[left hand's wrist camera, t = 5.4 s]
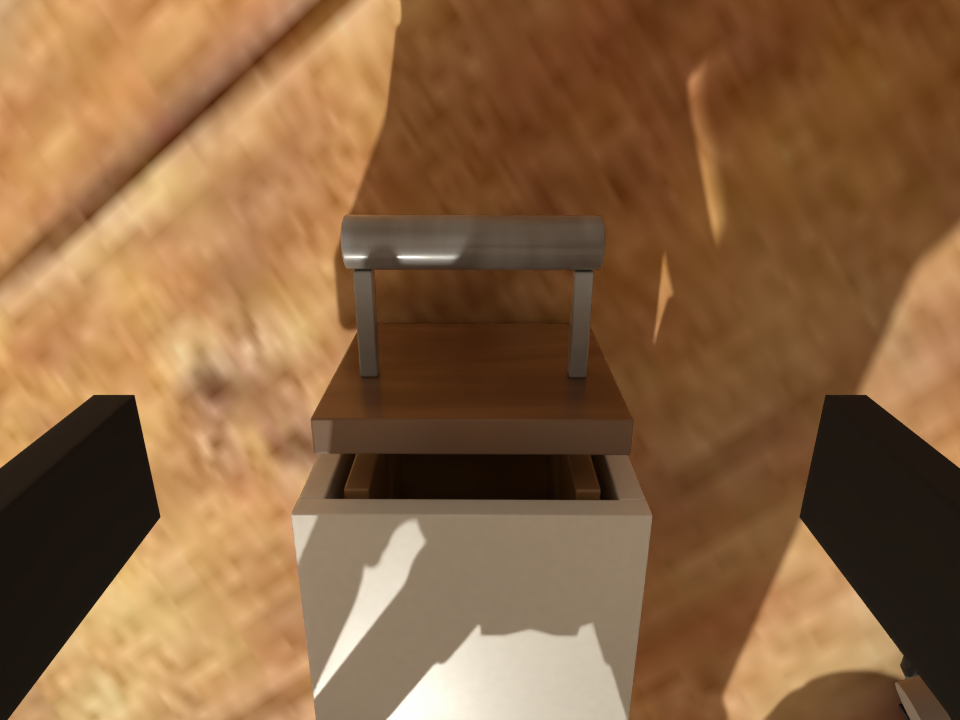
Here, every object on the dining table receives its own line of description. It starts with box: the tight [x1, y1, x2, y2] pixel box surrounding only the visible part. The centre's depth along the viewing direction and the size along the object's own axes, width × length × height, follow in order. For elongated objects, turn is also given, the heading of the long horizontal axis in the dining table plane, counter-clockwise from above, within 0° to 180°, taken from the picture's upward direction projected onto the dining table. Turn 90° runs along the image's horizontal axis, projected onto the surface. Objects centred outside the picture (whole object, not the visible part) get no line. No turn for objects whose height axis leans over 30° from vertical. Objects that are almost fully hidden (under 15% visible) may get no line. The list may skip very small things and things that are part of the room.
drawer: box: [311, 214, 633, 500], centre depth 26 cm, size 23×10×9 cm, turn 0°
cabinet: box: [291, 454, 653, 720], centre depth 28 cm, size 19×11×11 cm, turn 0°
